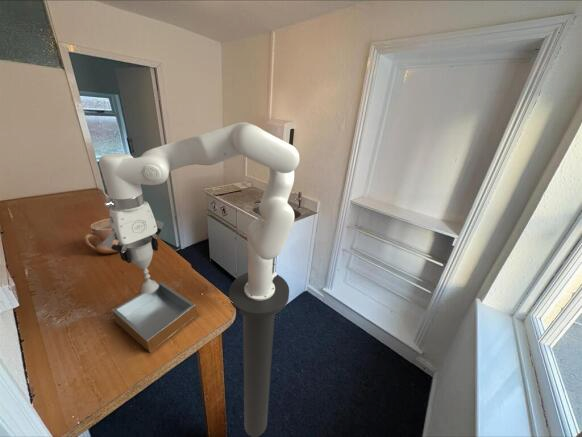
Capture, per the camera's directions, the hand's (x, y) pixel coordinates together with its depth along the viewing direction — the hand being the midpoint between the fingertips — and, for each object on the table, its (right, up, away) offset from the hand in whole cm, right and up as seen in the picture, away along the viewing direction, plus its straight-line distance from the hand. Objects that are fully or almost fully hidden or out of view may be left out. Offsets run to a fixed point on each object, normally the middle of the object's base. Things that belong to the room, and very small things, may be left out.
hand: (141, 254), depth 70 cm
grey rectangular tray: (-1, -24, +11) cm, 26 cm away
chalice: (-1, -12, +6) cm, 14 cm away
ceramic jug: (-43, -4, +45) cm, 62 cm away
